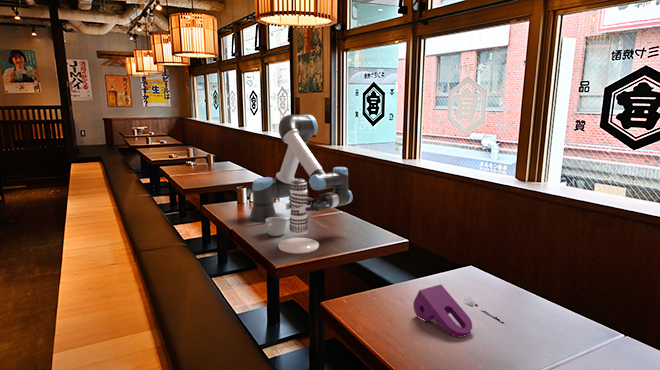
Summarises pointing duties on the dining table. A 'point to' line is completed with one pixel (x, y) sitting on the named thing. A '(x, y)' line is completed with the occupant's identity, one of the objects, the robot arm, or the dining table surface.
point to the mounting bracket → (442, 310)
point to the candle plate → (298, 245)
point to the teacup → (275, 226)
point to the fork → (473, 303)
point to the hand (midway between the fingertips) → (292, 208)
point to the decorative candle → (298, 200)
